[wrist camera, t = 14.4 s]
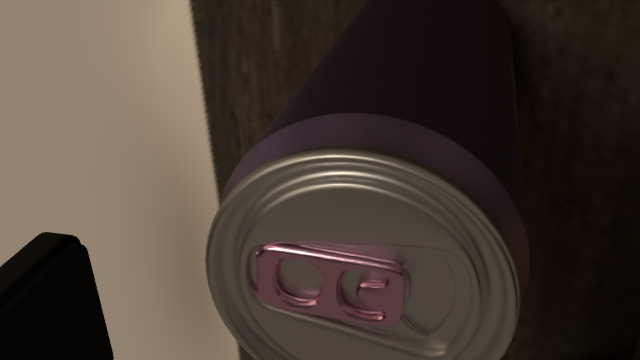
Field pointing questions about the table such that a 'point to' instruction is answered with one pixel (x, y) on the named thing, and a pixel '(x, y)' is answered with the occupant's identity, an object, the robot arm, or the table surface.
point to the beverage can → (383, 198)
